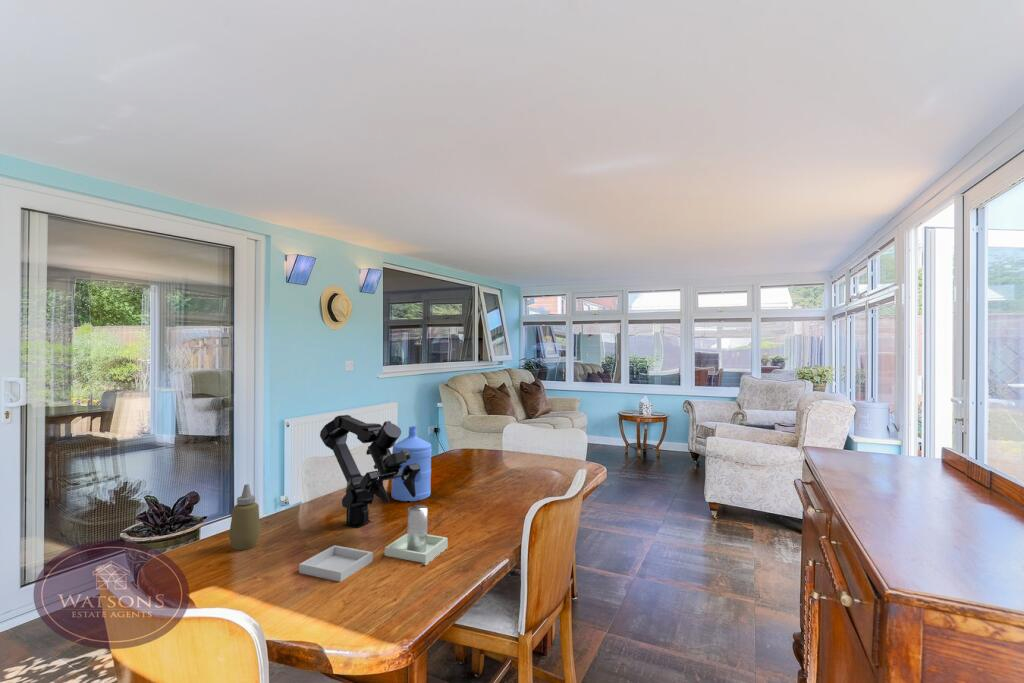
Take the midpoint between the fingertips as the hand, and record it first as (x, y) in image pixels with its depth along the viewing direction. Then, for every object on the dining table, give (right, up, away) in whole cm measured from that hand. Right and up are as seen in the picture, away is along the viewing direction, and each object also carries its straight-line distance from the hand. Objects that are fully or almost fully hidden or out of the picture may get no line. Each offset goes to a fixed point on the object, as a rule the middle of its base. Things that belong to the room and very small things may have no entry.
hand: (401, 499), depth 142 cm
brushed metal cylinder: (+6, -13, -6) cm, 15 cm away
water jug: (-8, -15, +49) cm, 51 cm away
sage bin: (+6, -13, -6) cm, 16 cm away
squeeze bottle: (-45, -13, -4) cm, 47 cm away
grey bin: (-13, -13, -17) cm, 25 cm away
